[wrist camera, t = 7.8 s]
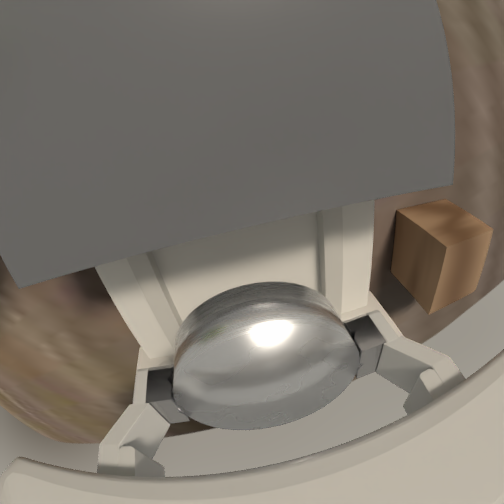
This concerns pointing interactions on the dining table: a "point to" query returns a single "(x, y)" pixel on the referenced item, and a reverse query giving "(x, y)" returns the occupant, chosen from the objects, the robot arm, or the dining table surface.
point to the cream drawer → (245, 272)
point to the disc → (261, 357)
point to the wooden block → (439, 252)
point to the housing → (208, 119)
